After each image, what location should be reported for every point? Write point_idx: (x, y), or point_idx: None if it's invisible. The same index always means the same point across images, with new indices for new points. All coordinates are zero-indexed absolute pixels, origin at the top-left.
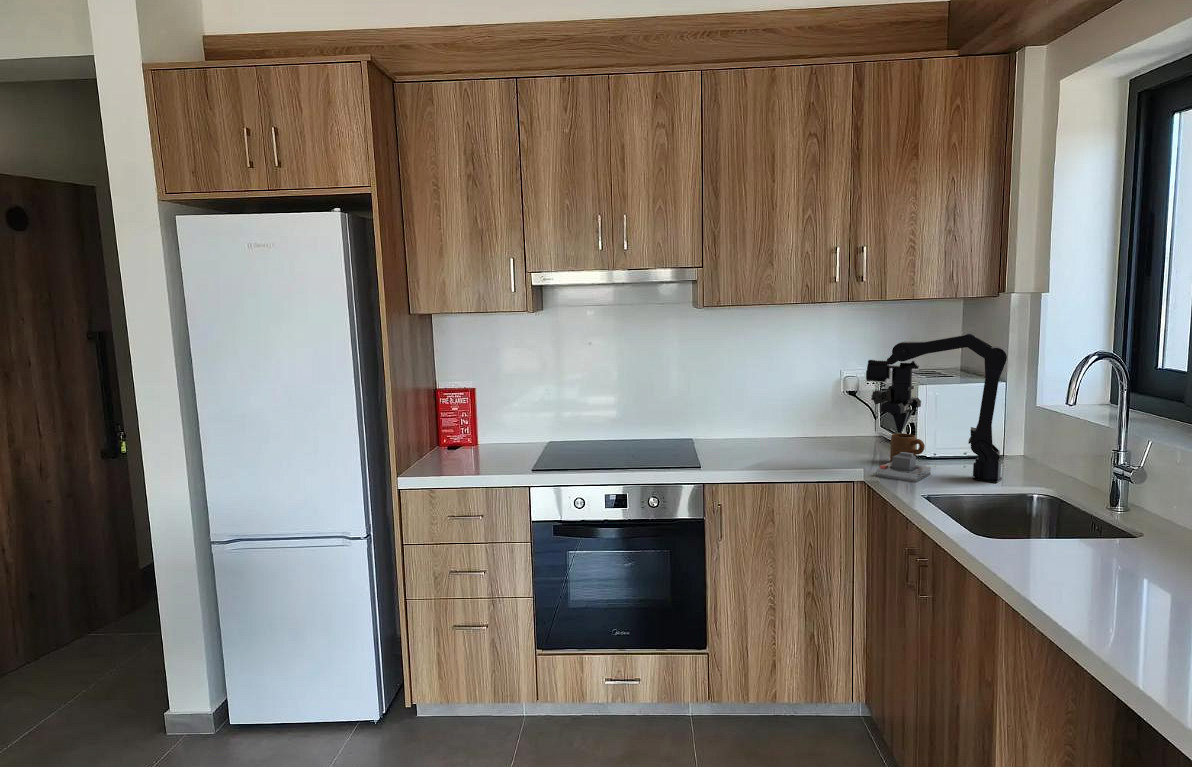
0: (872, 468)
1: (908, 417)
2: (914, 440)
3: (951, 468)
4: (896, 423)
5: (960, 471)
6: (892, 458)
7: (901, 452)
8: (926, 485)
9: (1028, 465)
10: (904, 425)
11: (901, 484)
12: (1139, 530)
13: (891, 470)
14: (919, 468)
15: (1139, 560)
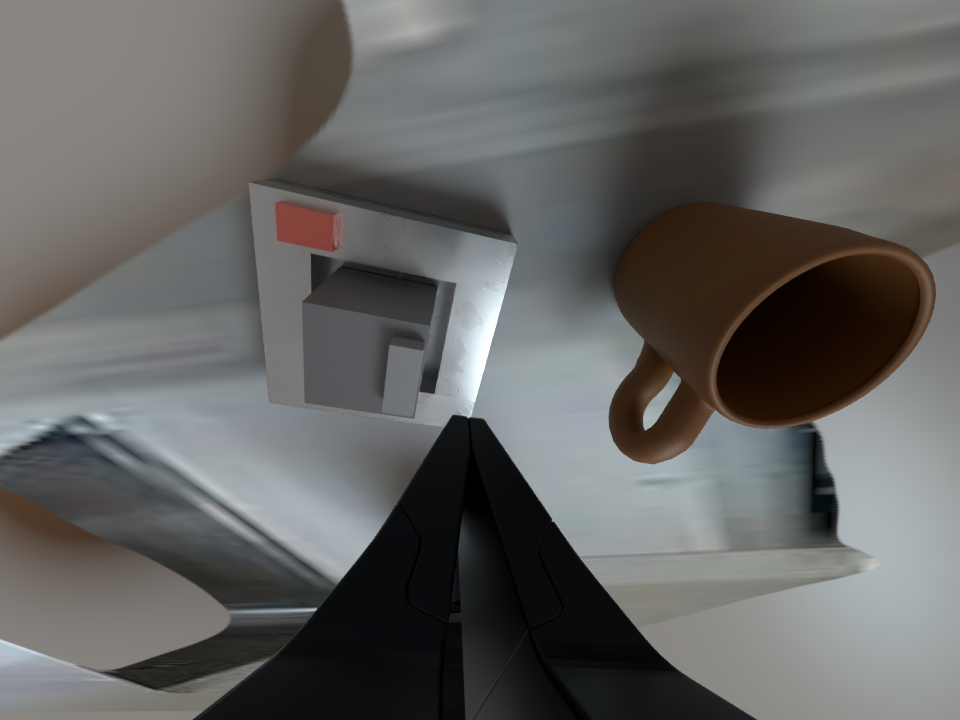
0: (479, 110)
1: (467, 715)
2: (678, 421)
3: (616, 454)
4: (402, 501)
5: (572, 479)
6: (308, 297)
7: (400, 354)
8: (261, 414)
9: (710, 588)
10: (459, 541)
11: (192, 330)
12: (207, 691)
13: (260, 281)
14: None
15: (13, 692)
